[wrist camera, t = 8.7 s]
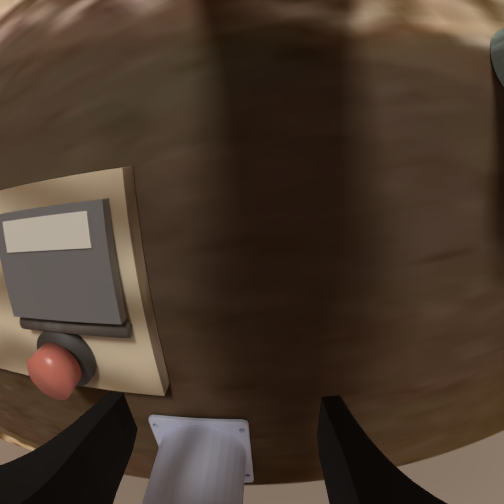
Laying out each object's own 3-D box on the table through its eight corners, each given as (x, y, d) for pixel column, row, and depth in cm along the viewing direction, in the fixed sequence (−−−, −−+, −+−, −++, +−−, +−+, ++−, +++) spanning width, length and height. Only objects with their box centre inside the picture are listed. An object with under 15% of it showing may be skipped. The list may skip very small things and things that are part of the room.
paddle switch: (126, 318, 18) (120, 325, 17) (20, 312, 18) (13, 316, 17) (109, 198, 16) (101, 199, 15) (1, 213, 17) (-8, 215, 16)
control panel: (169, 382, 22) (161, 405, 19) (-8, 355, 23) (-22, 369, 20) (132, 166, 17) (114, 169, 15) (-52, 204, 18) (-72, 211, 16)
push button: (88, 387, 19) (77, 403, 17) (50, 380, 19) (38, 395, 17) (71, 344, 18) (58, 360, 16) (33, 339, 18) (19, 353, 16)
